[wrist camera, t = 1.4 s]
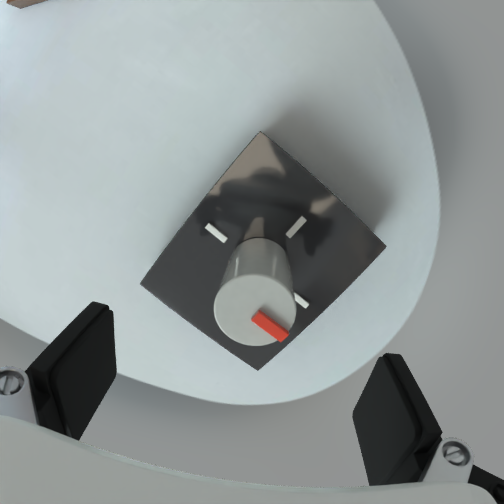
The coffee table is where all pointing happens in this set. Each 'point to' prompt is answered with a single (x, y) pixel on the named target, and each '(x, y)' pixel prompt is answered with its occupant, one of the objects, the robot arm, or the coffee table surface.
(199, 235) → the hob panel
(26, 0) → the power block
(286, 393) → the coffee table surface
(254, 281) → the hob knob
